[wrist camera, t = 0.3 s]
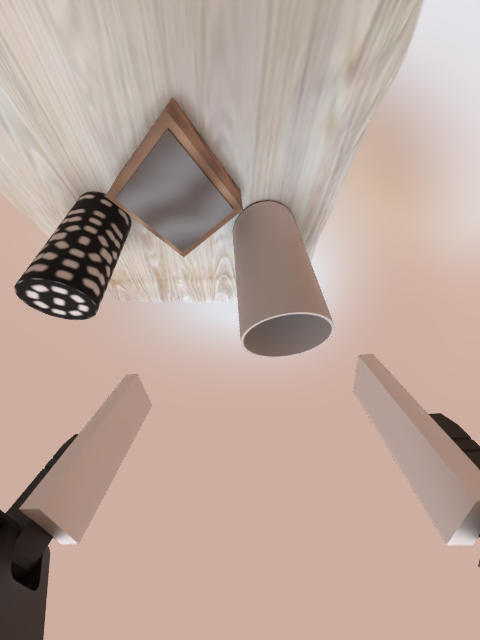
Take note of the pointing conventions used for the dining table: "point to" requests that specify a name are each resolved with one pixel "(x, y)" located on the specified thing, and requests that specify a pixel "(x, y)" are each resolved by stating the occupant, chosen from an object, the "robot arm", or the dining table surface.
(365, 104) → the dining table surface
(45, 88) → the dining table surface
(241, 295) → the cylinder vase
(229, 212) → the display pedestal
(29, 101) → the dining table surface
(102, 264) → the spotted tube
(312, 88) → the dining table surface
